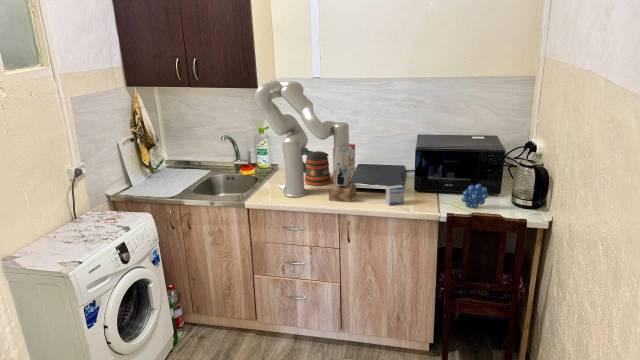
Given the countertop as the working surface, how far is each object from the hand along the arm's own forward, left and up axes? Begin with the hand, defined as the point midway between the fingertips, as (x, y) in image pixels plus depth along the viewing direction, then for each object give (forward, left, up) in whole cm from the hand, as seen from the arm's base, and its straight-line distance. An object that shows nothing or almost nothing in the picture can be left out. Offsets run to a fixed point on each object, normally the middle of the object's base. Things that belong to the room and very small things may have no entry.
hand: (342, 182), depth 238 cm
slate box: (0, 0, -1) cm, 1 cm away
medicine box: (+27, -1, -9) cm, 28 cm away
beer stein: (-23, +21, -9) cm, 32 cm away
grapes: (+64, +3, -9) cm, 65 cm away
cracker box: (-6, +24, -9) cm, 26 cm away
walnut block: (0, 0, -8) cm, 8 cm away
